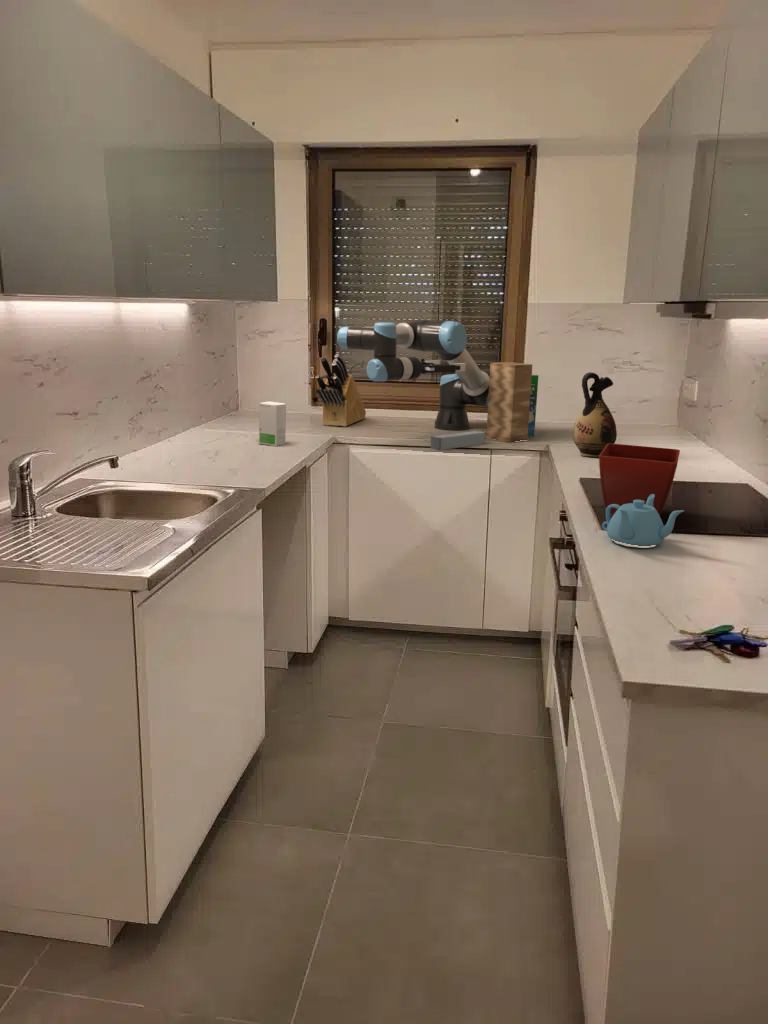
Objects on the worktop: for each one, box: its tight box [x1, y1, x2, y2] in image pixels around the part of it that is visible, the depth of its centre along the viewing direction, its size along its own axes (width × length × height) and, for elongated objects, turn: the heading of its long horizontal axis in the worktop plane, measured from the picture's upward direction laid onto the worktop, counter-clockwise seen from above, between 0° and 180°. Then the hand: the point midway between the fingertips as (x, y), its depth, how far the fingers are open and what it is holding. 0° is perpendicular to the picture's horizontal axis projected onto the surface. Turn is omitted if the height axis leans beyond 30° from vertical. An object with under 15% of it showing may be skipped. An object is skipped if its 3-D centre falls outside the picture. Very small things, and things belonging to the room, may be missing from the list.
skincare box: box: [258, 400, 287, 447], centre depth 300 cm, size 8×7×16 cm
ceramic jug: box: [572, 371, 618, 458], centre depth 289 cm, size 17×15×30 cm
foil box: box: [430, 430, 486, 451], centre depth 305 cm, size 5×24×5 cm, turn 129°
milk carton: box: [528, 374, 539, 437], centre depth 332 cm, size 9×9×25 cm
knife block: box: [315, 353, 367, 428], centre depth 347 cm, size 11×35×31 cm, turn 162°
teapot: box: [601, 494, 685, 546], centre depth 188 cm, size 15×15×10 cm
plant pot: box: [598, 443, 681, 517], centre depth 212 cm, size 19×19×17 cm
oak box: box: [485, 361, 533, 443], centre depth 318 cm, size 13×10×30 cm
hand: (451, 365), depth 291 cm, fingers open, 13 cm apart
